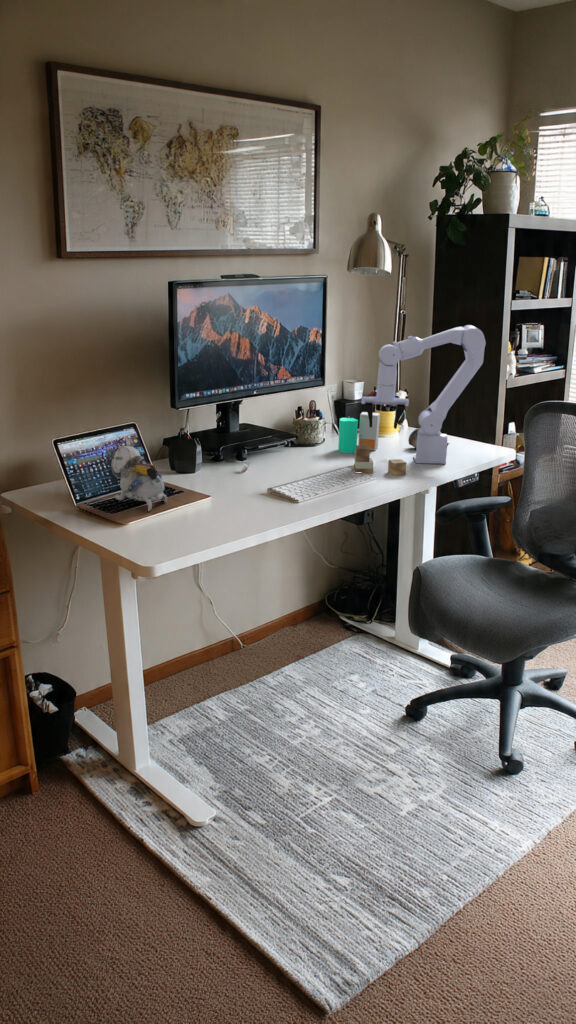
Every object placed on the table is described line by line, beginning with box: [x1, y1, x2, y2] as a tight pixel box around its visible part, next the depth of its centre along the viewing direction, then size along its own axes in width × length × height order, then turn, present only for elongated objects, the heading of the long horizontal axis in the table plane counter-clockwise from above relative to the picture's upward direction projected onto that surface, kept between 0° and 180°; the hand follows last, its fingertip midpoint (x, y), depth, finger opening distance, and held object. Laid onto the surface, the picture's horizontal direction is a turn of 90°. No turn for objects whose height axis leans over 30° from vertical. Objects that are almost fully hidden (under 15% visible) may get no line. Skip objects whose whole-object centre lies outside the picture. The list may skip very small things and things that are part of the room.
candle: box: [337, 417, 359, 454], centre depth 274 cm, size 6×6×12 cm
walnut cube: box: [354, 445, 371, 462], centre depth 252 cm, size 4×4×4 cm
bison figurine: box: [407, 428, 450, 449], centre depth 277 cm, size 12×7×10 cm
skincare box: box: [357, 411, 381, 452], centre depth 277 cm, size 6×4×12 cm
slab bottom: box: [353, 463, 374, 475], centre depth 254 cm, size 6×6×2 cm
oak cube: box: [387, 458, 408, 477], centre depth 251 cm, size 4×4×4 cm
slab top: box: [354, 457, 374, 470], centre depth 253 cm, size 5×5×2 cm
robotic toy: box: [107, 445, 168, 511], centre depth 218 cm, size 13×17×15 cm
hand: (382, 427), depth 263 cm, fingers open, 7 cm apart
